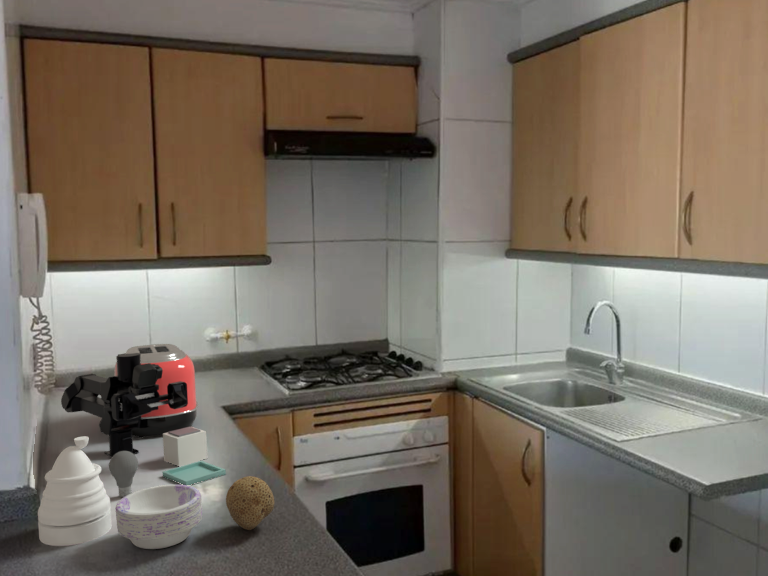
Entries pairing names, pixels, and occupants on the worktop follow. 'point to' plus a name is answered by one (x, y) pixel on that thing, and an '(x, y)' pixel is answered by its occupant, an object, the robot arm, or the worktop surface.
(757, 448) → the worktop surface
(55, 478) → the honey pot
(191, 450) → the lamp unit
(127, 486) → the light bulb
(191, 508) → the paper bowls
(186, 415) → the toaster
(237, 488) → the natural sponge
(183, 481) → the tray
